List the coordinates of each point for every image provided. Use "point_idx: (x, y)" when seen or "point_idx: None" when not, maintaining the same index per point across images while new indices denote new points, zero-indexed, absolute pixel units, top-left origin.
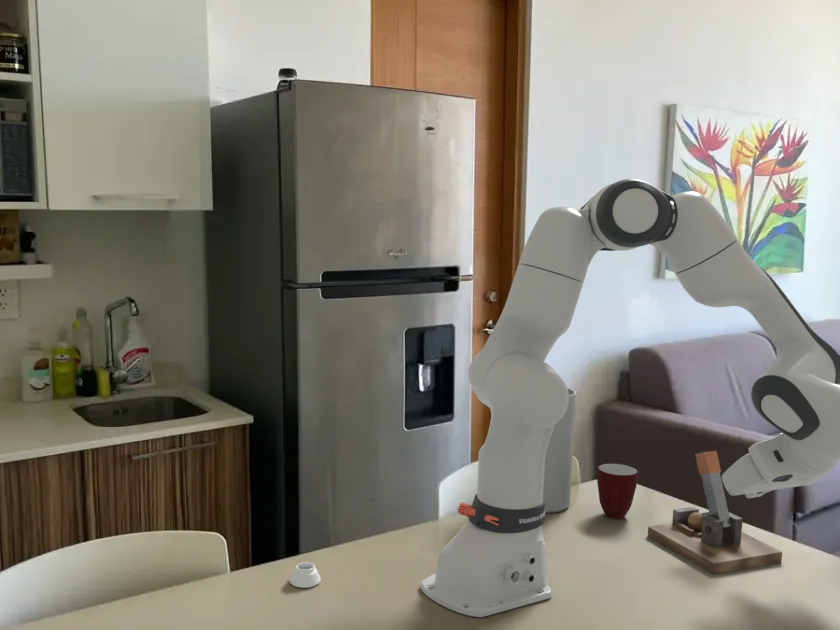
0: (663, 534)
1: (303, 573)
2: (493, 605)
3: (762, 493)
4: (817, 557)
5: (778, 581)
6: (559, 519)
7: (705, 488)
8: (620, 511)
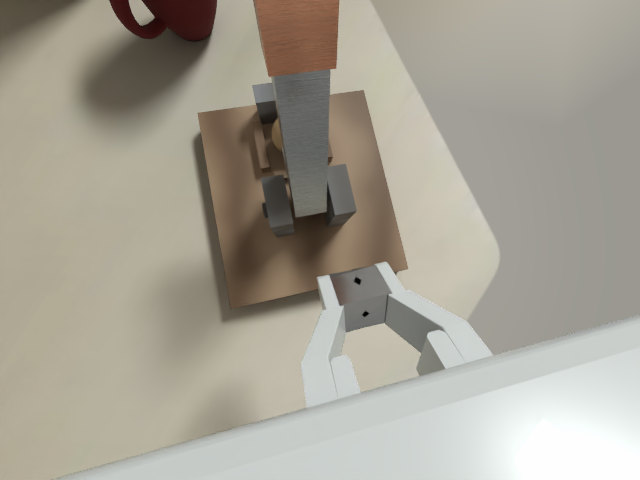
0: (206, 156)
1: None
2: None
3: (383, 322)
4: (478, 256)
5: (345, 346)
6: (64, 23)
7: (276, 108)
8: (181, 31)
